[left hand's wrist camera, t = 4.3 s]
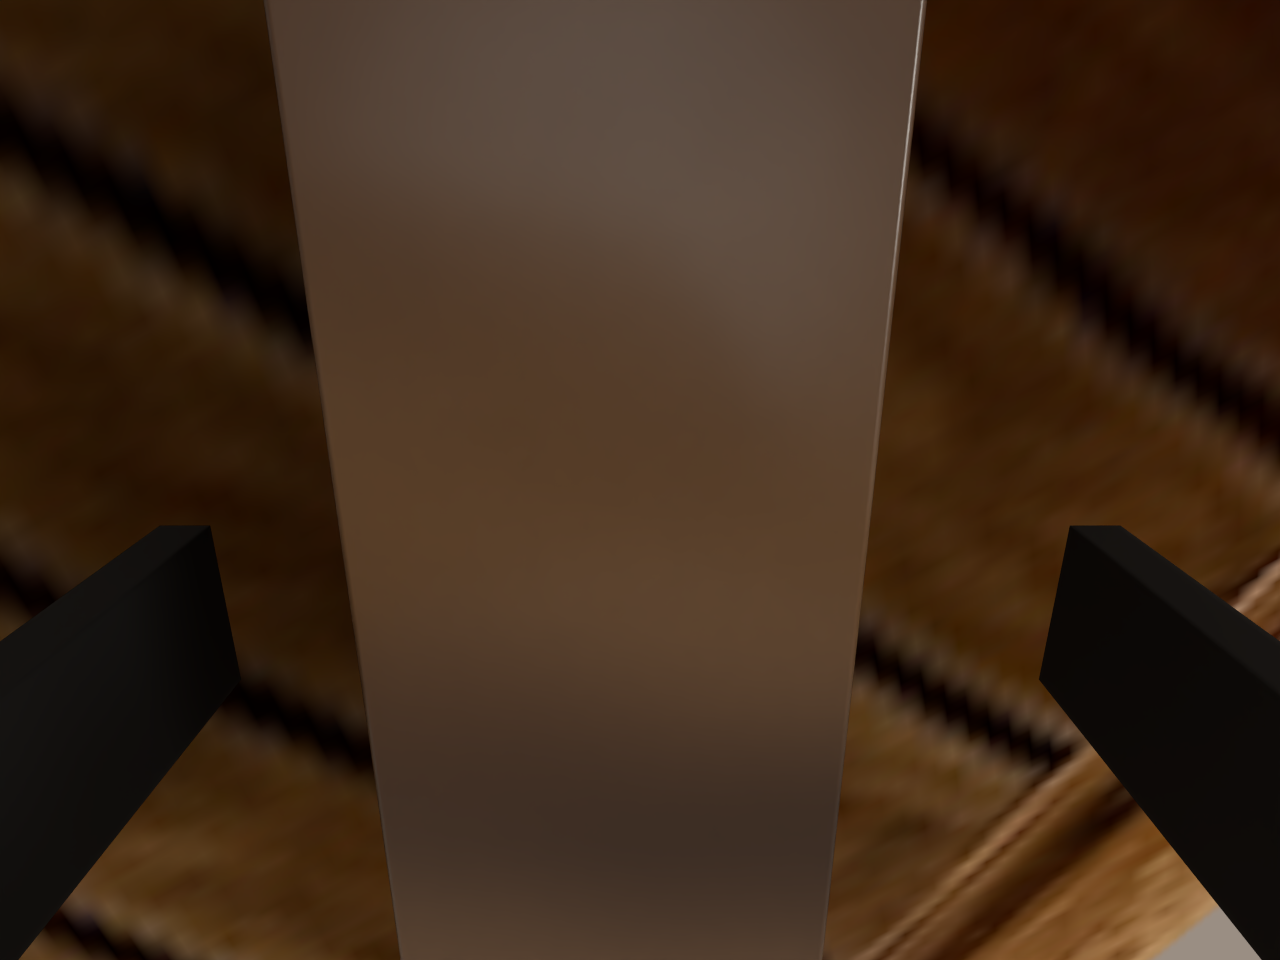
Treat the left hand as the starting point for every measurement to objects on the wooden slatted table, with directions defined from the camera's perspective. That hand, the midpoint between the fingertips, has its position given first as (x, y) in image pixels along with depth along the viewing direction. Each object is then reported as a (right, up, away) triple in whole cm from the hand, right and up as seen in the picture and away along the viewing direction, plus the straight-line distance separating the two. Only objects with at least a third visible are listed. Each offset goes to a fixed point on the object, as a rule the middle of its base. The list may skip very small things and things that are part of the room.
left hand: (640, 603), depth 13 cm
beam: (0, +20, -3) cm, 21 cm away
